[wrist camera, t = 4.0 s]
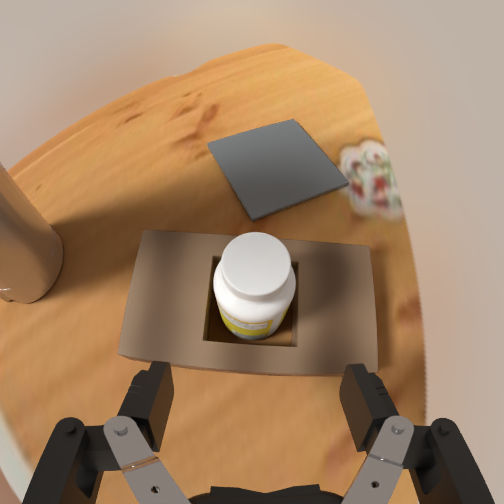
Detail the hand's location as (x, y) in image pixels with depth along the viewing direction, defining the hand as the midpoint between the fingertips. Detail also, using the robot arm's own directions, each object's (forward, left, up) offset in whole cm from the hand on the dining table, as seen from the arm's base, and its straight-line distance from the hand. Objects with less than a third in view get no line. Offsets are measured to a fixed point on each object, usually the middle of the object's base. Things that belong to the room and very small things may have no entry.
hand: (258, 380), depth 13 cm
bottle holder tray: (+3, +6, -11) cm, 13 cm away
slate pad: (+13, +20, -11) cm, 26 cm away
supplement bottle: (+3, +6, -11) cm, 13 cm away
